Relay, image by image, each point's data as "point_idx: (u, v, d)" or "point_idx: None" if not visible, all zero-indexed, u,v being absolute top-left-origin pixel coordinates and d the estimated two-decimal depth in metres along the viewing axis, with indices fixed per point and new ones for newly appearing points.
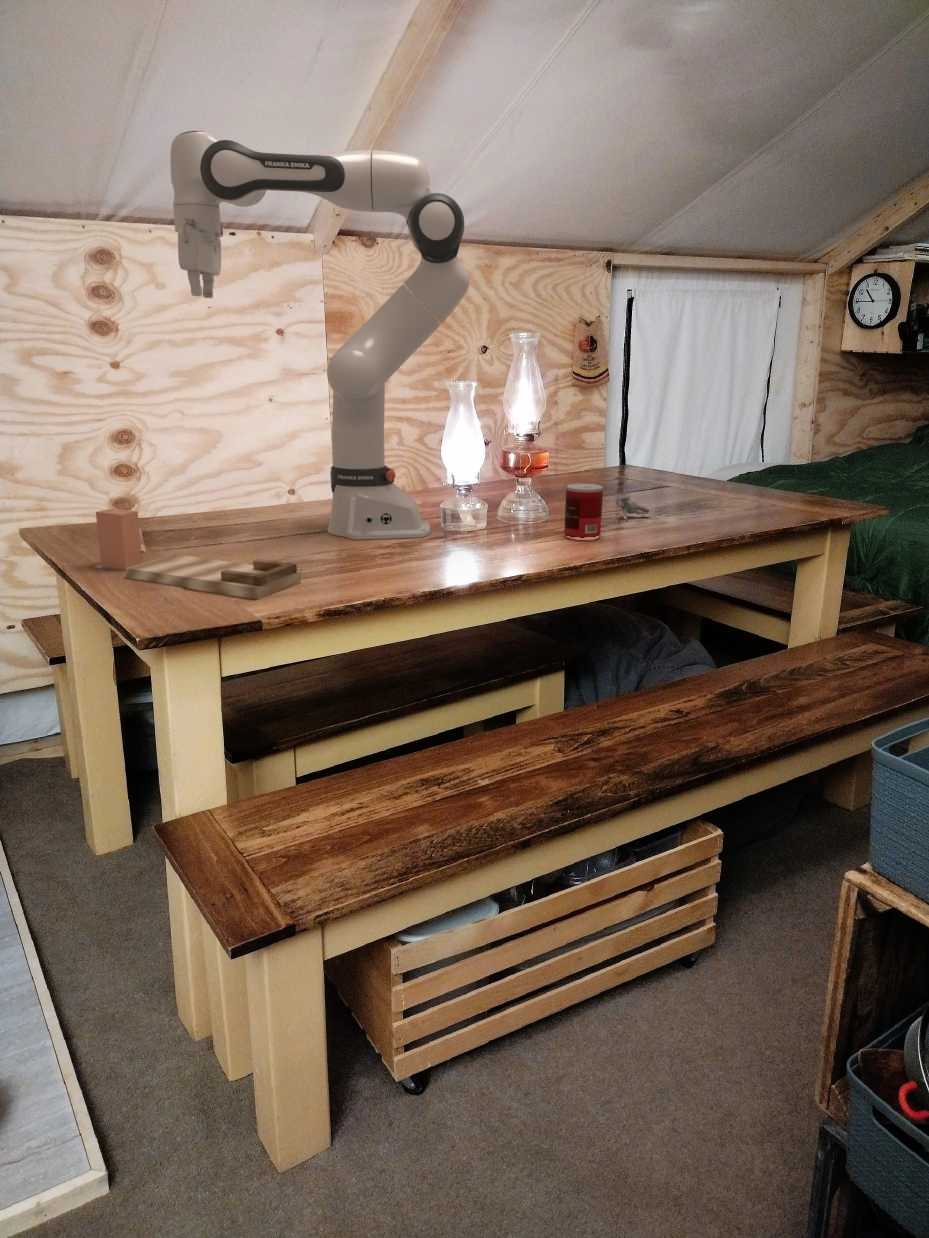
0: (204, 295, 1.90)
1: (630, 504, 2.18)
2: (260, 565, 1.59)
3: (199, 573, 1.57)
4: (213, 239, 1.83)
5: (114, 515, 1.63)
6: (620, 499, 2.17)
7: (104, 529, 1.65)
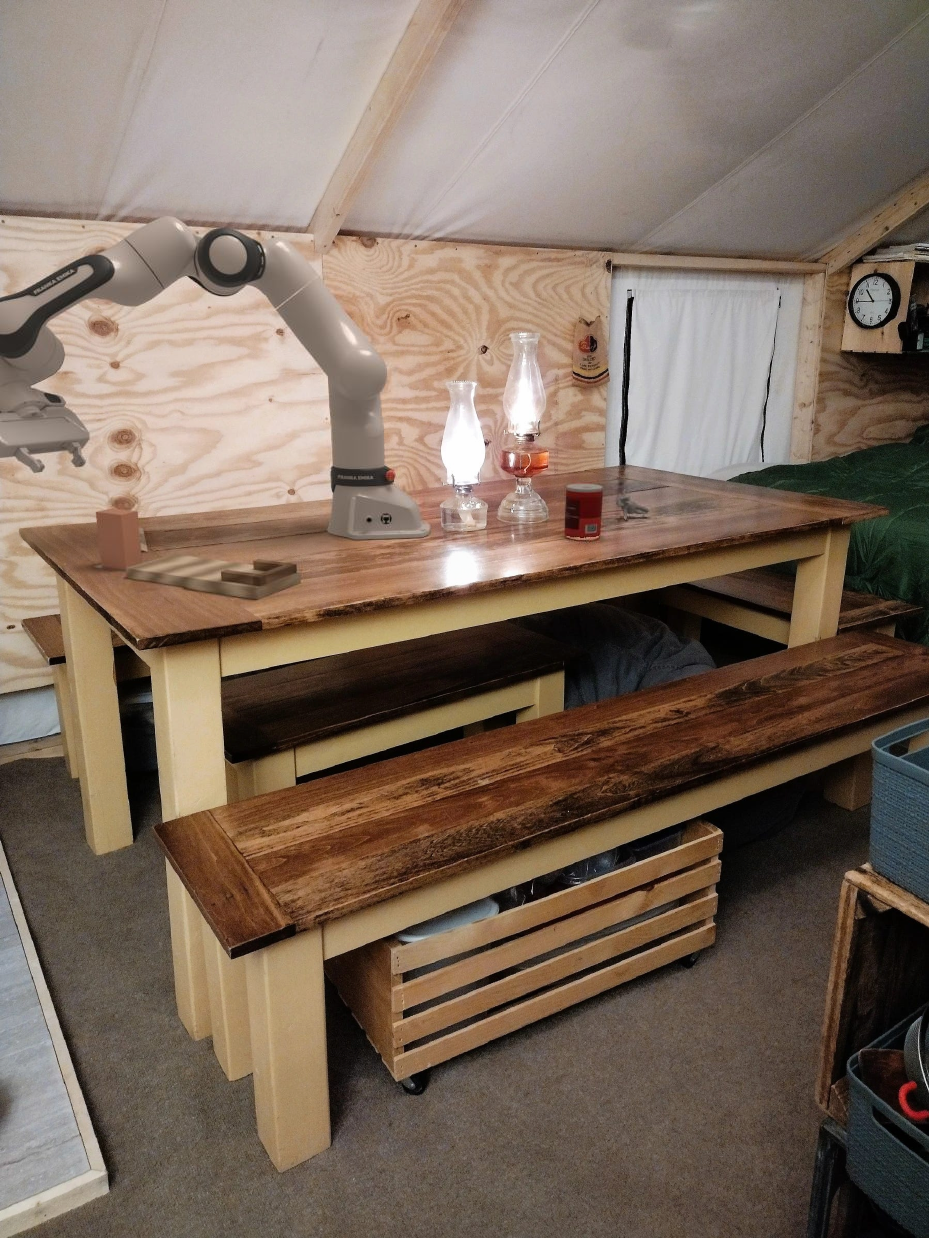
0: (75, 465, 1.73)
1: (629, 504, 2.18)
2: (260, 565, 1.59)
3: (199, 573, 1.57)
4: (31, 411, 1.68)
5: (114, 515, 1.63)
6: (620, 499, 2.17)
7: (104, 529, 1.65)
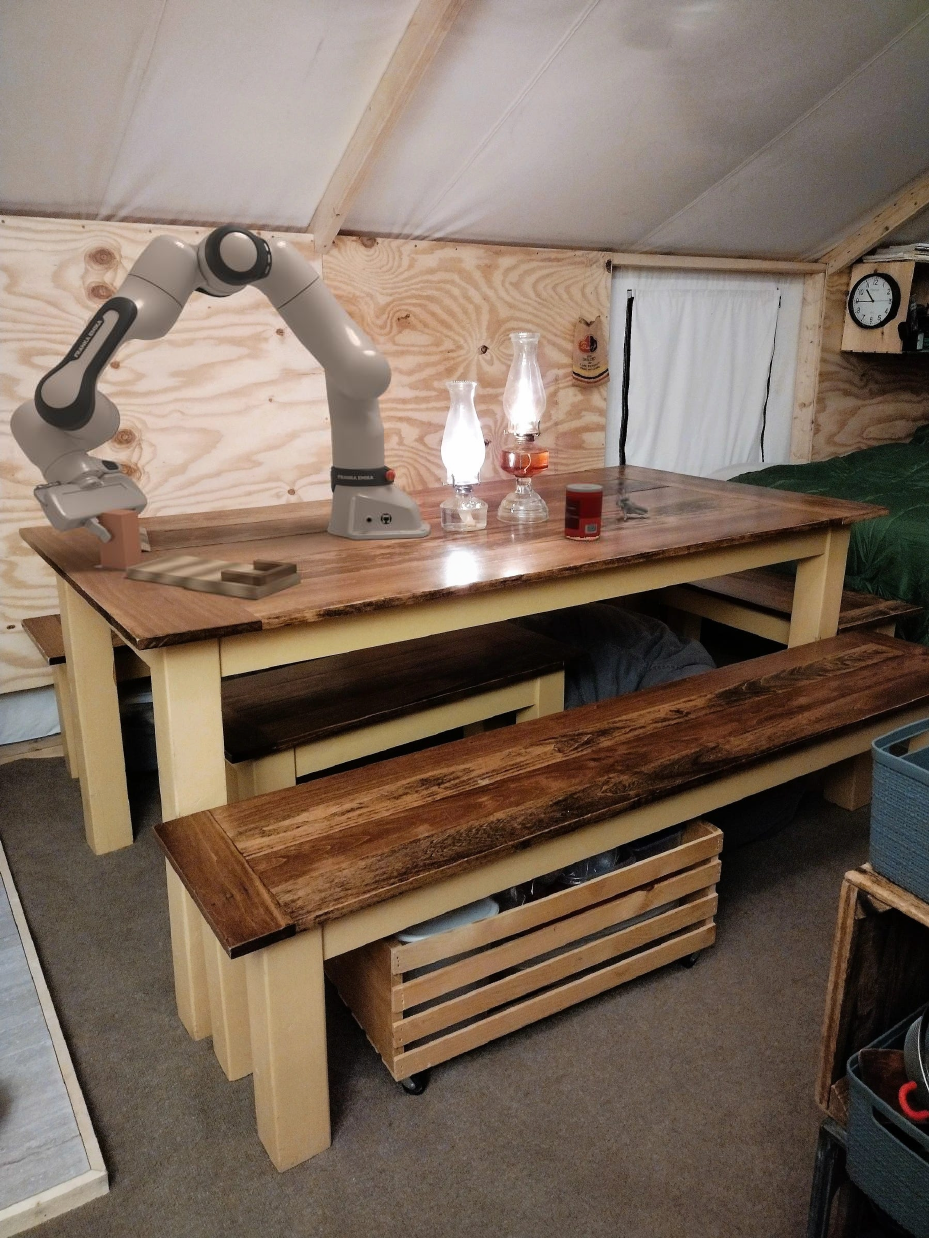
0: None
1: (629, 504, 2.18)
2: (260, 565, 1.59)
3: (199, 573, 1.57)
4: (90, 480, 1.65)
5: (114, 515, 1.63)
6: (620, 500, 2.17)
7: None
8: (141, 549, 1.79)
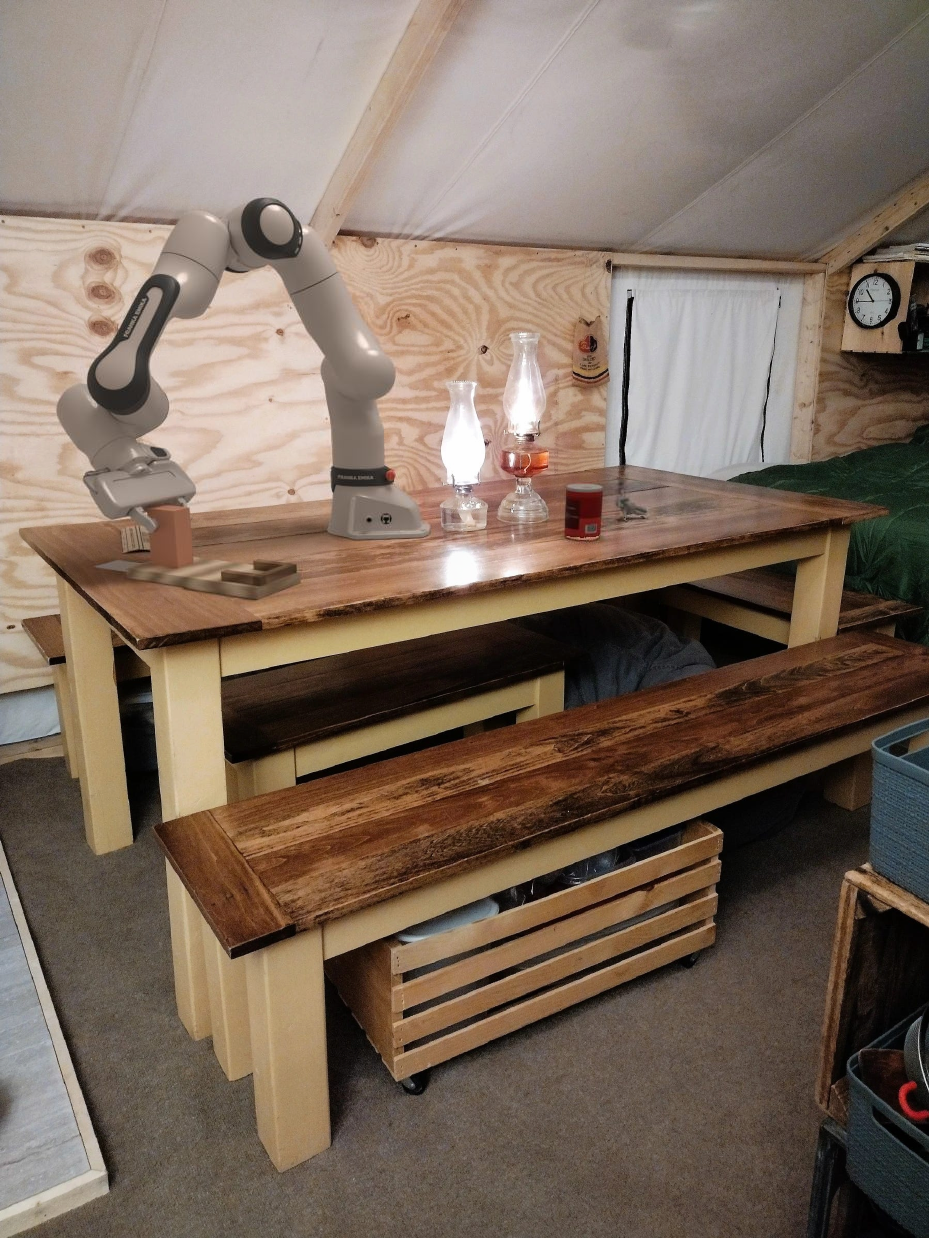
0: None
1: (629, 505, 2.17)
2: (260, 565, 1.59)
3: (199, 573, 1.57)
4: (140, 467, 1.60)
5: (166, 511, 1.58)
6: (619, 500, 2.16)
7: None
8: (146, 549, 1.79)
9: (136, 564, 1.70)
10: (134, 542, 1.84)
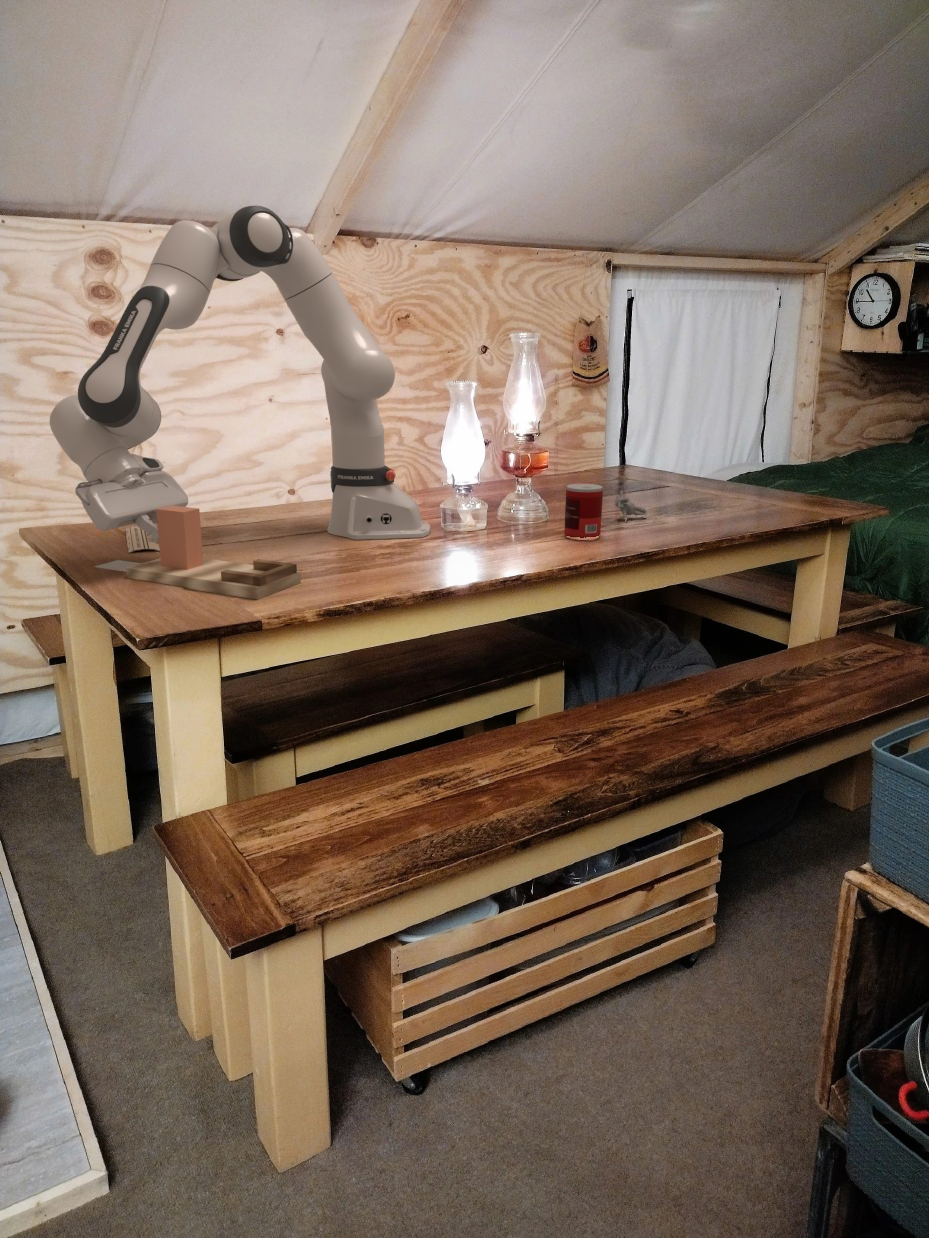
0: None
1: (629, 505, 2.16)
2: (260, 565, 1.59)
3: (199, 573, 1.57)
4: (132, 478, 1.61)
5: (176, 512, 1.57)
6: (619, 501, 2.15)
7: (164, 527, 1.59)
8: (151, 549, 1.80)
9: (136, 564, 1.70)
10: (139, 542, 1.85)
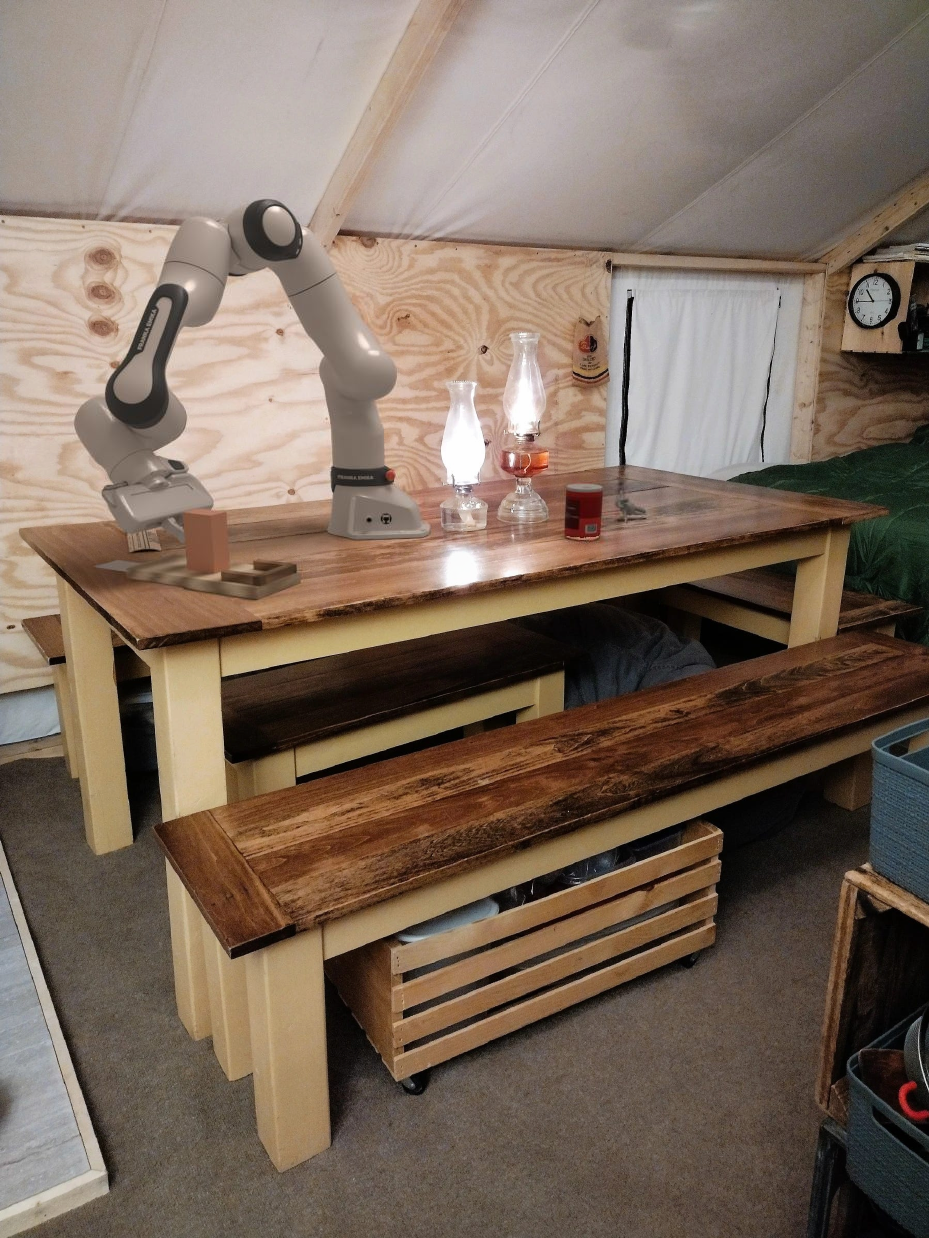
0: None
1: (628, 505, 2.16)
2: (260, 565, 1.59)
3: (199, 573, 1.57)
4: (158, 481, 1.59)
5: (203, 516, 1.55)
6: (619, 501, 2.15)
7: (191, 530, 1.57)
8: (152, 548, 1.80)
9: (136, 564, 1.70)
10: (140, 542, 1.85)
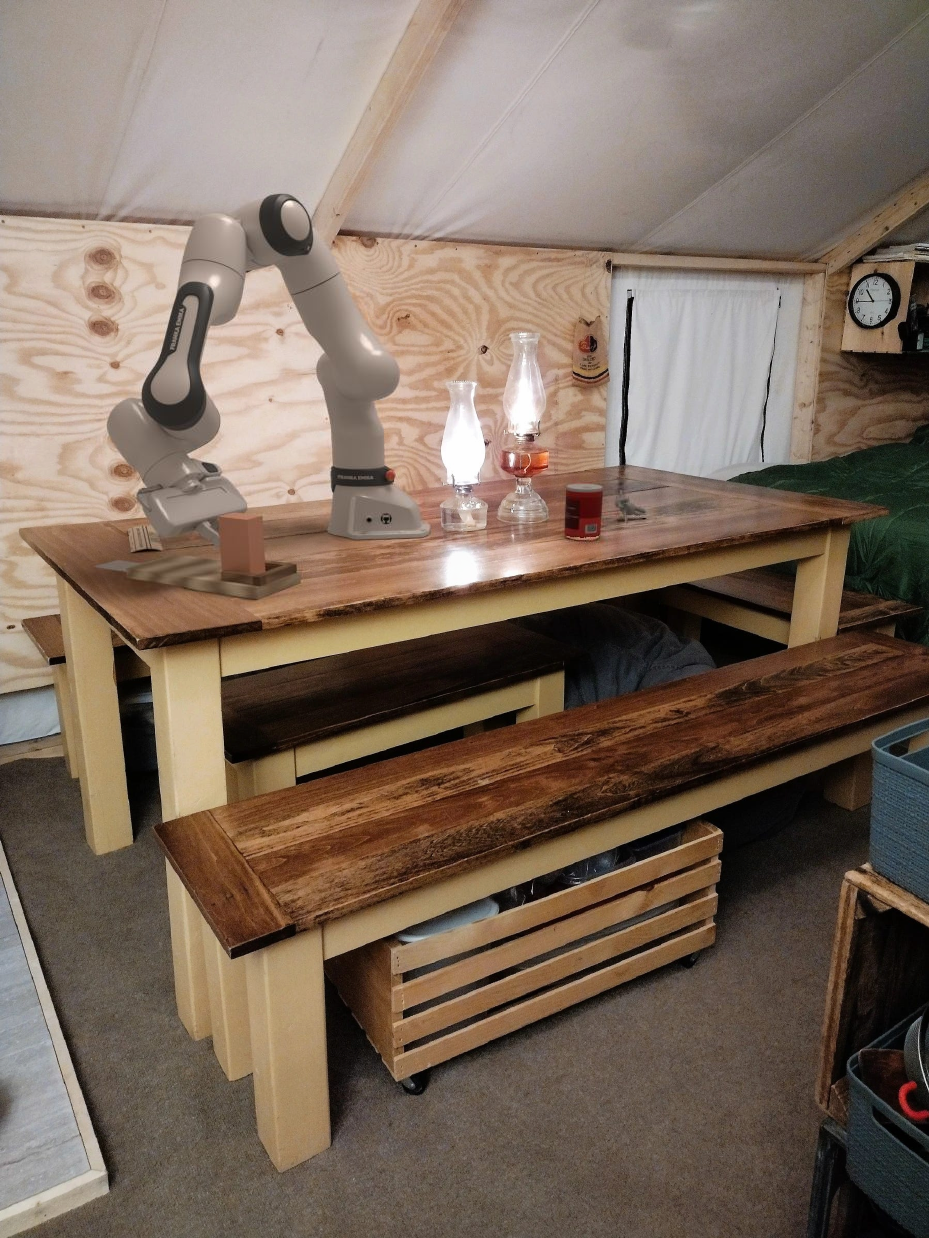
0: None
1: (628, 505, 2.16)
2: None
3: (199, 573, 1.57)
4: (193, 484, 1.56)
5: (239, 520, 1.51)
6: (619, 501, 2.15)
7: (227, 535, 1.53)
8: (153, 548, 1.80)
9: (136, 564, 1.70)
10: (142, 541, 1.85)
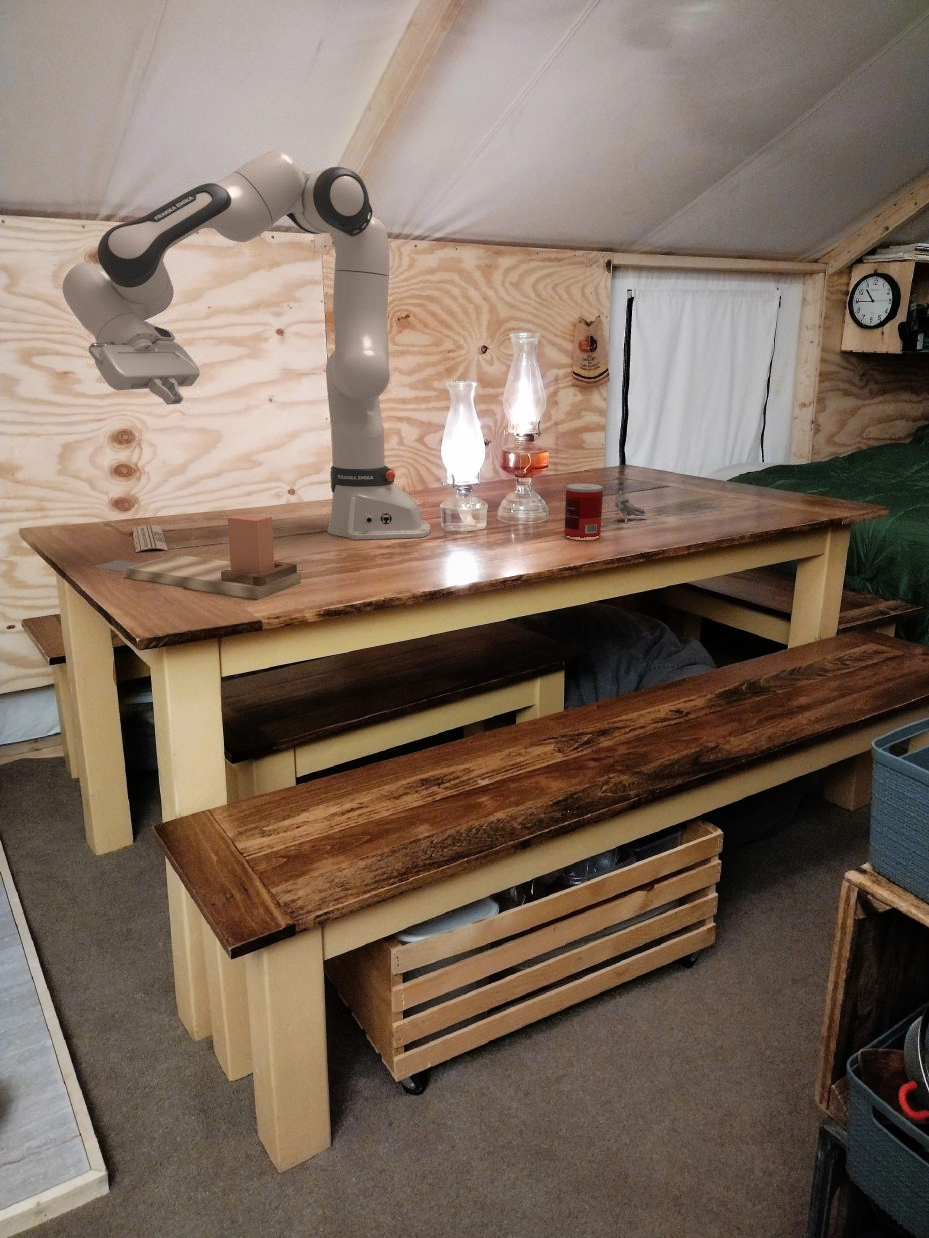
0: None
1: (628, 506, 2.16)
2: None
3: (199, 573, 1.57)
4: (144, 343, 1.62)
5: (249, 521, 1.51)
6: (620, 501, 2.14)
7: (236, 536, 1.53)
8: (158, 548, 1.80)
9: (136, 564, 1.70)
10: (146, 541, 1.85)
